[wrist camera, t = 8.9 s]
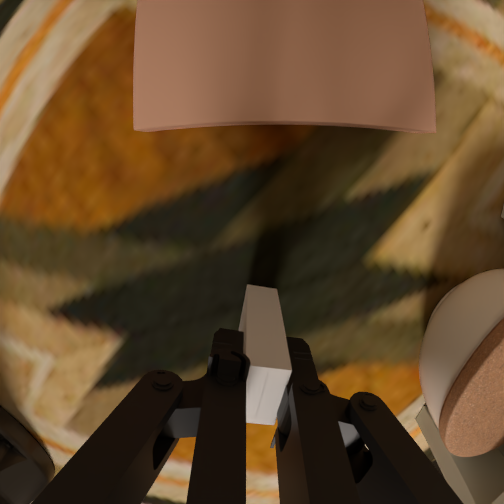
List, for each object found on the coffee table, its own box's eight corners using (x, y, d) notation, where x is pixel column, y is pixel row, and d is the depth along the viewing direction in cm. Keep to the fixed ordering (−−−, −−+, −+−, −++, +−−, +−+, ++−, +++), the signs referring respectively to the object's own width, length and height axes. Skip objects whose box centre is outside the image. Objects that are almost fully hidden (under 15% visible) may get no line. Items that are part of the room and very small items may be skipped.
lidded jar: (523, 235, 16) (619, 284, 7) (499, 361, 20) (560, 431, 11) (397, 259, 17) (498, 349, 8) (387, 399, 20) (433, 501, 11)
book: (150, 132, 15) (134, 129, 13) (155, -27, 12) (142, -47, 10) (413, 133, 15) (436, 132, 13) (397, -20, 12) (414, -37, 10)
